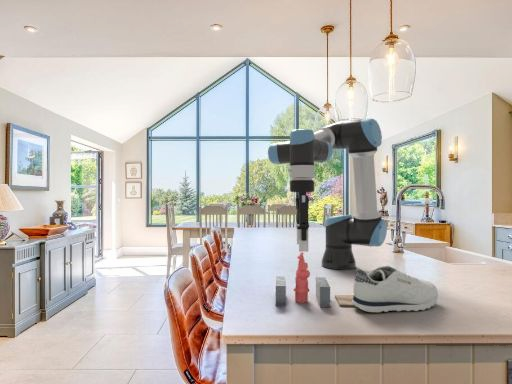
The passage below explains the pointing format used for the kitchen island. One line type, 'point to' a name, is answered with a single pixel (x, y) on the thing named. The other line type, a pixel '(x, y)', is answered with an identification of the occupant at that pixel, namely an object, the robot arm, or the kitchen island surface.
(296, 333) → the kitchen island surface
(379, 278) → the running shoe
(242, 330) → the kitchen island surface
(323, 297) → the grey blocks
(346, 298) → the pad
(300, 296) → the figurine
